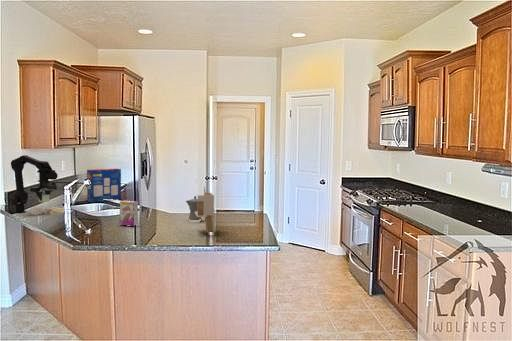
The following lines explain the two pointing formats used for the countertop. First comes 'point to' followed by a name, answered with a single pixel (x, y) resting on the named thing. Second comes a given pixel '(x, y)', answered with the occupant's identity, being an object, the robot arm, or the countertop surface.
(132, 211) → the candy bar box
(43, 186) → the robot arm
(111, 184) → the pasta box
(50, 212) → the birch block
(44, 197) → the sage cube
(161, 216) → the countertop surface
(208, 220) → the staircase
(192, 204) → the coffeepot
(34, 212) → the white cube
